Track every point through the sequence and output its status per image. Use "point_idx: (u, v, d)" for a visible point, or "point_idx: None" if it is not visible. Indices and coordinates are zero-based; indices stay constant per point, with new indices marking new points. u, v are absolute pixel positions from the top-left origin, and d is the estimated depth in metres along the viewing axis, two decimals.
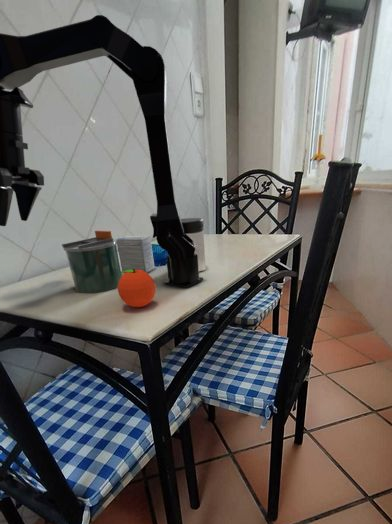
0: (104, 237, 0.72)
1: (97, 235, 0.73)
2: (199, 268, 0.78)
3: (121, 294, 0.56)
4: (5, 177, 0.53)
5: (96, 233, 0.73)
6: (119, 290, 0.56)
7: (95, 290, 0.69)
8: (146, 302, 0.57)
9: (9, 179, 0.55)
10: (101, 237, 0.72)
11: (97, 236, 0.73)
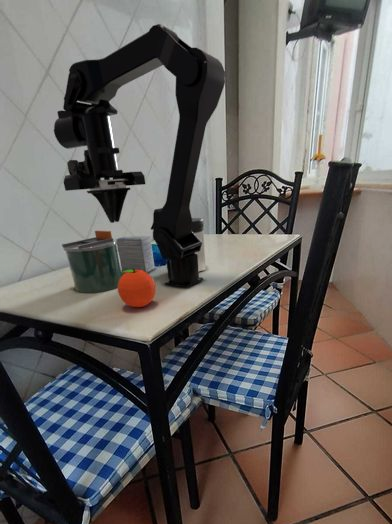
0: (104, 237, 0.72)
1: (97, 235, 0.73)
2: (199, 268, 0.78)
3: (121, 294, 0.56)
4: (85, 181, 0.62)
5: (96, 233, 0.73)
6: (119, 290, 0.56)
7: (95, 290, 0.69)
8: (146, 302, 0.57)
9: (91, 182, 0.63)
10: (101, 237, 0.72)
11: (97, 236, 0.73)
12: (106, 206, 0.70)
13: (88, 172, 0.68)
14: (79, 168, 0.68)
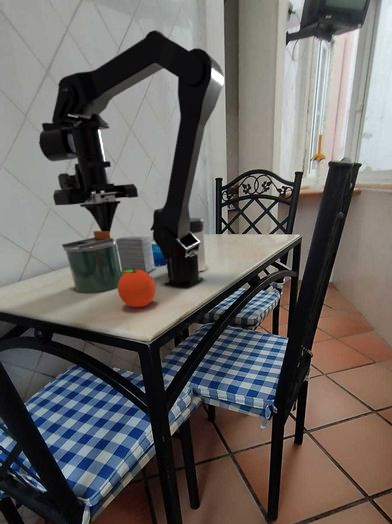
0: (103, 237, 0.71)
1: (96, 235, 0.72)
2: (199, 268, 0.78)
3: (121, 294, 0.56)
4: (75, 196, 0.61)
5: (95, 233, 0.72)
6: (119, 290, 0.56)
7: (95, 290, 0.69)
8: (146, 302, 0.57)
9: (81, 197, 0.62)
10: (100, 237, 0.72)
11: (96, 236, 0.73)
12: (99, 219, 0.70)
13: (79, 186, 0.67)
14: (70, 182, 0.67)
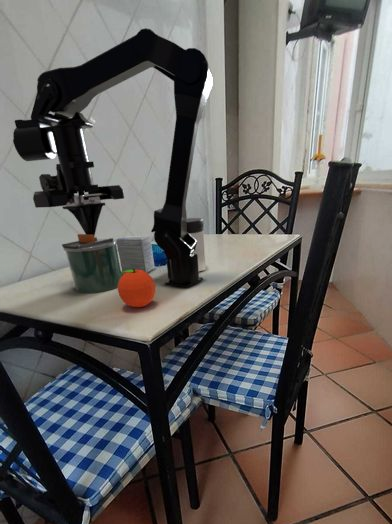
0: (87, 241, 0.68)
1: (80, 239, 0.69)
2: (199, 268, 0.78)
3: (121, 294, 0.56)
4: (55, 198, 0.58)
5: (79, 237, 0.69)
6: (119, 290, 0.56)
7: (95, 290, 0.69)
8: (146, 302, 0.57)
9: (62, 199, 0.60)
10: (84, 241, 0.69)
11: (80, 240, 0.70)
12: (83, 222, 0.67)
13: (61, 187, 0.64)
14: (51, 183, 0.64)
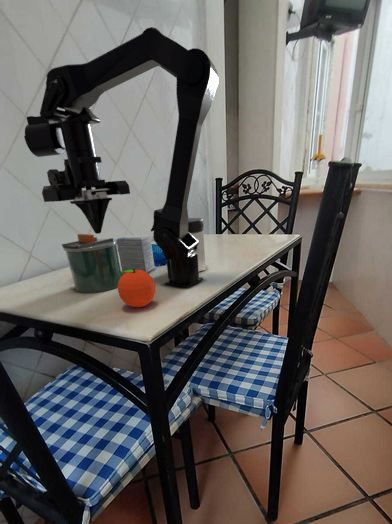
0: (87, 241, 0.68)
1: (80, 239, 0.69)
2: (199, 268, 0.78)
3: (121, 294, 0.56)
4: (64, 192, 0.59)
5: (79, 237, 0.69)
6: (119, 290, 0.56)
7: (95, 290, 0.69)
8: (146, 302, 0.57)
9: (71, 193, 0.61)
10: (84, 241, 0.69)
11: (80, 240, 0.70)
12: (90, 217, 0.68)
13: (69, 182, 0.65)
14: (59, 178, 0.65)
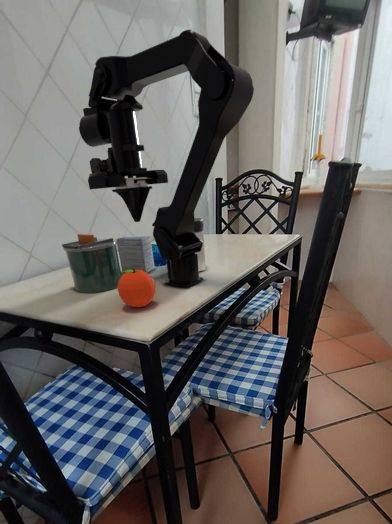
0: (87, 241, 0.68)
1: (80, 239, 0.69)
2: (199, 268, 0.78)
3: (121, 294, 0.56)
4: (112, 179, 0.60)
5: (79, 237, 0.69)
6: (119, 290, 0.56)
7: (95, 290, 0.69)
8: (146, 302, 0.57)
9: (117, 180, 0.61)
10: (84, 241, 0.69)
11: (80, 240, 0.70)
12: (131, 205, 0.69)
13: (112, 170, 0.66)
14: (102, 166, 0.66)
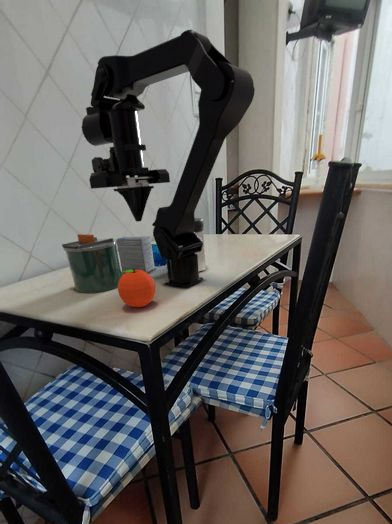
0: (87, 241, 0.68)
1: (80, 239, 0.69)
2: (199, 268, 0.78)
3: (121, 294, 0.56)
4: (113, 178, 0.60)
5: (79, 237, 0.69)
6: (119, 290, 0.56)
7: (95, 290, 0.69)
8: (146, 302, 0.57)
9: (119, 180, 0.62)
10: (84, 241, 0.69)
11: (80, 240, 0.70)
12: (132, 204, 0.69)
13: (113, 170, 0.66)
14: (104, 165, 0.66)
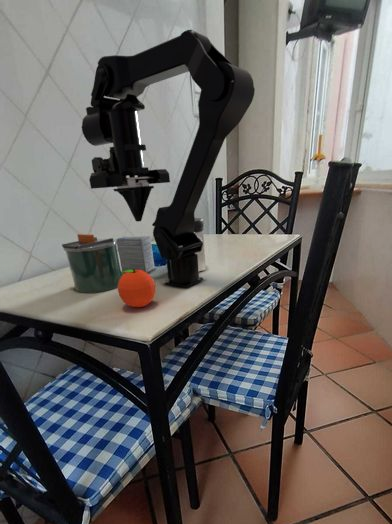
0: (87, 241, 0.68)
1: (80, 239, 0.69)
2: (199, 268, 0.78)
3: (121, 294, 0.56)
4: (113, 178, 0.60)
5: (79, 237, 0.69)
6: (119, 290, 0.56)
7: (95, 290, 0.69)
8: (146, 302, 0.57)
9: (119, 180, 0.62)
10: (84, 241, 0.69)
11: (80, 240, 0.70)
12: (132, 204, 0.69)
13: (113, 170, 0.66)
14: (104, 165, 0.66)
